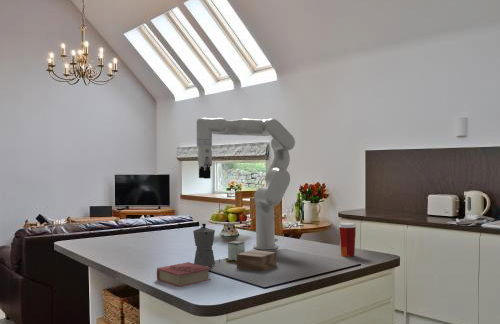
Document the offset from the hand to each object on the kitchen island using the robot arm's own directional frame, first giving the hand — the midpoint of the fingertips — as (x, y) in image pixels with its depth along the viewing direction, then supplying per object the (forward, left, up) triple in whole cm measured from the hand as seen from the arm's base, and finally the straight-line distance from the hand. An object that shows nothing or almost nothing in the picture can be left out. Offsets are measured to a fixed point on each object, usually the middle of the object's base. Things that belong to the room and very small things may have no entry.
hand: (204, 178), depth 228 cm
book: (+46, +26, -37) cm, 65 cm away
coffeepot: (+21, +16, -37) cm, 45 cm away
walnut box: (+13, +38, -37) cm, 55 cm away
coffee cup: (-29, +62, -37) cm, 78 cm away
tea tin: (+5, +22, -37) cm, 43 cm away
